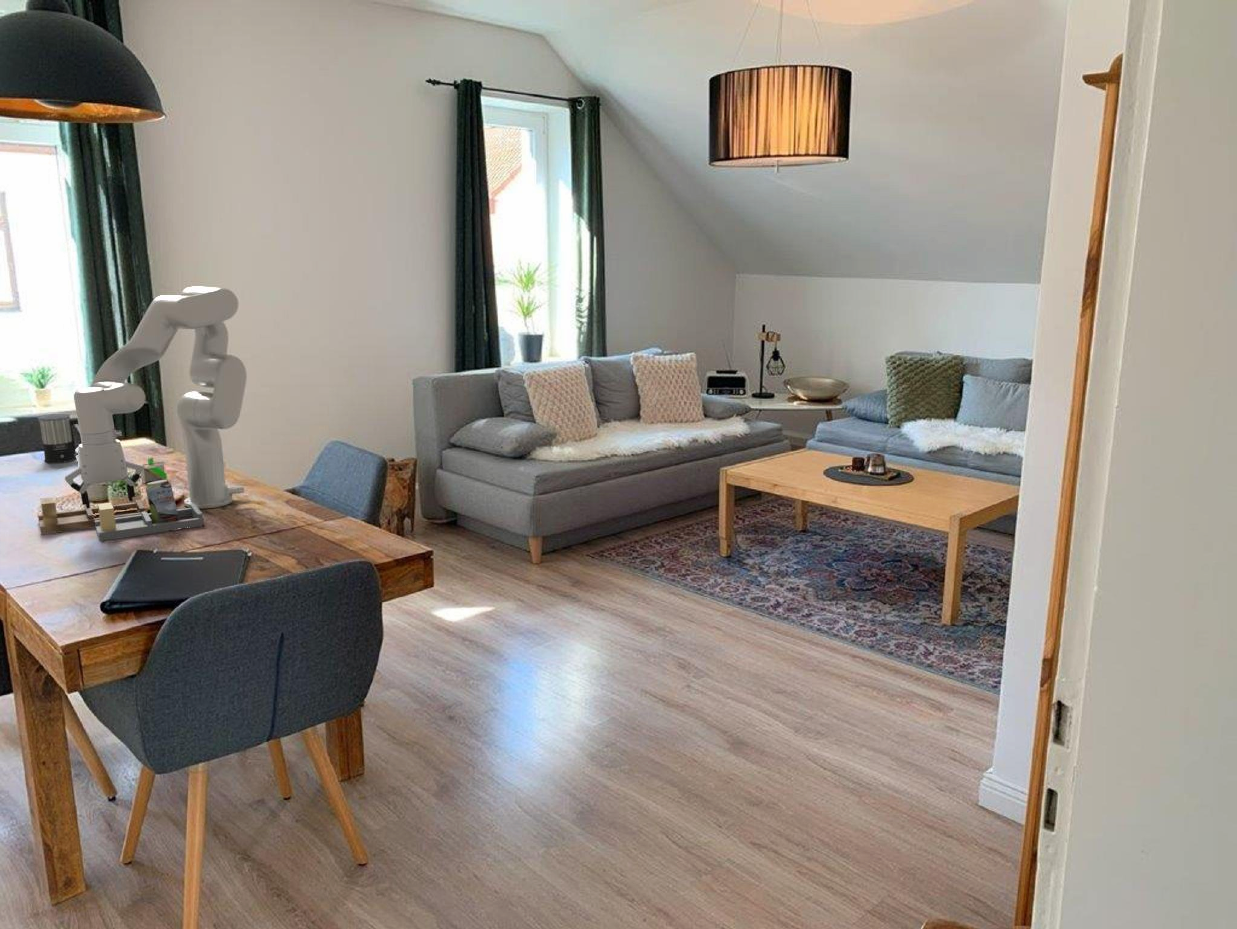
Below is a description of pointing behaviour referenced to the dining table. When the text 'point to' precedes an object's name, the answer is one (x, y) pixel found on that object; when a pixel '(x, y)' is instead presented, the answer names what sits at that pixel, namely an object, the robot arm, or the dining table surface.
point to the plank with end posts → (75, 516)
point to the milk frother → (58, 437)
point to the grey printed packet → (161, 501)
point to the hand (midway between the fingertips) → (109, 503)
